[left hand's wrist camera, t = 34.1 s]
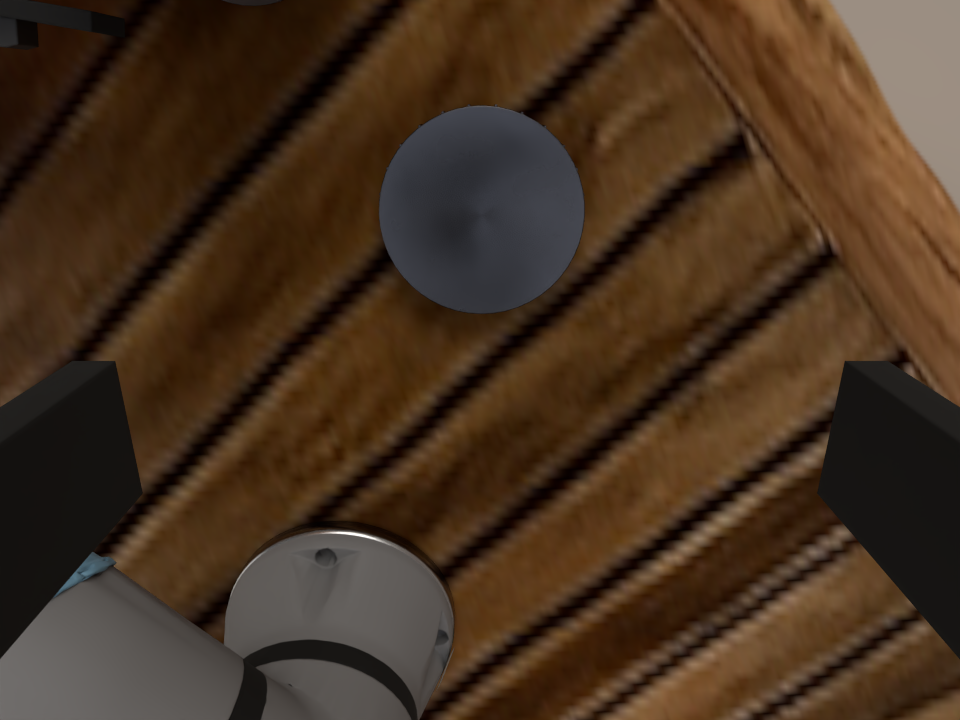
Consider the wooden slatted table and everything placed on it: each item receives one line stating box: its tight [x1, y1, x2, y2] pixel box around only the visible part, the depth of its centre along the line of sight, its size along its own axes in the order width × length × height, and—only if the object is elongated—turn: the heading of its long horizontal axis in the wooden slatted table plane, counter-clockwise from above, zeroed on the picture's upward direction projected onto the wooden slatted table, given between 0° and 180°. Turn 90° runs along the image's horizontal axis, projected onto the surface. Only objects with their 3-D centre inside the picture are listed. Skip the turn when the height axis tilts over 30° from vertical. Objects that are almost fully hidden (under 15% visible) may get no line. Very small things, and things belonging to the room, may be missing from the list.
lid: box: [379, 104, 585, 314], centre depth 36 cm, size 11×11×2 cm
